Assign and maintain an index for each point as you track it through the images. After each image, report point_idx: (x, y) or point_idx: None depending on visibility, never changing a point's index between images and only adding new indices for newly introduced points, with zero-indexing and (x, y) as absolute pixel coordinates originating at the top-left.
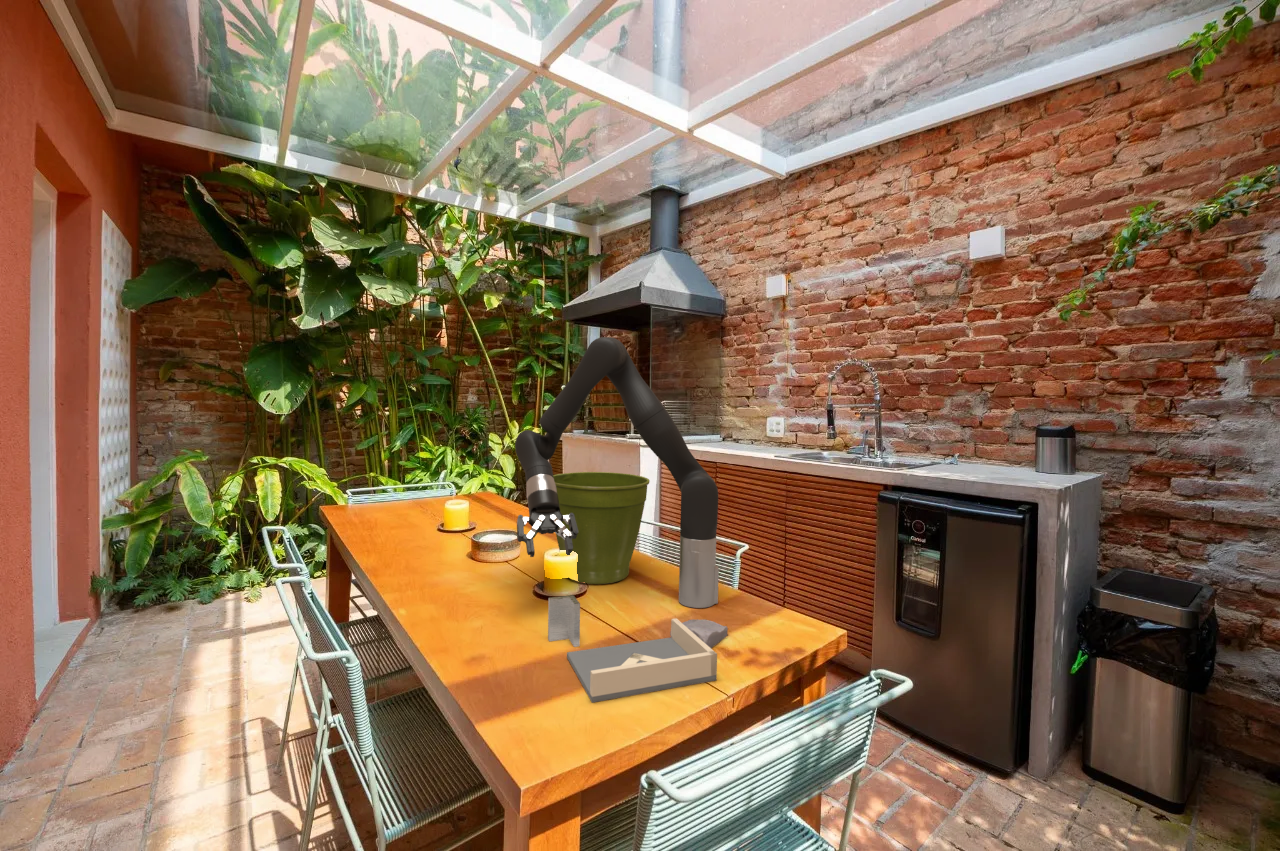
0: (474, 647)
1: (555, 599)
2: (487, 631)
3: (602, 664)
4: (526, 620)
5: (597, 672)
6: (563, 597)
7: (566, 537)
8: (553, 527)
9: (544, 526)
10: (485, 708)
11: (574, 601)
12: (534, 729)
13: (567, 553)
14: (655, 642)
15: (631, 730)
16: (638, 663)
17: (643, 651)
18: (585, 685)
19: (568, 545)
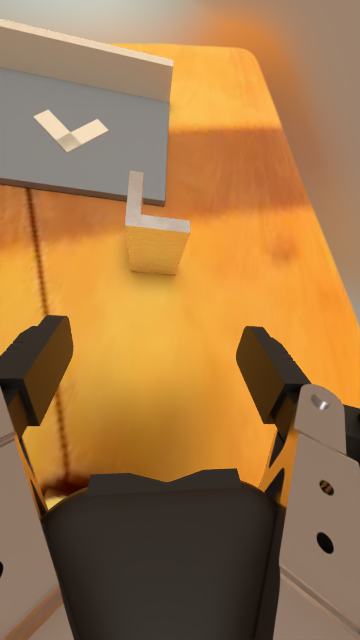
0: (285, 290)
1: (175, 219)
2: None
3: (128, 148)
4: (194, 371)
5: (165, 59)
6: (154, 220)
7: (22, 376)
8: (100, 498)
9: (215, 513)
10: (274, 146)
11: (137, 188)
12: (234, 96)
13: (71, 334)
14: (8, 169)
15: (148, 52)
16: (102, 49)
17: (48, 153)
18: (168, 118)
19: (48, 329)
